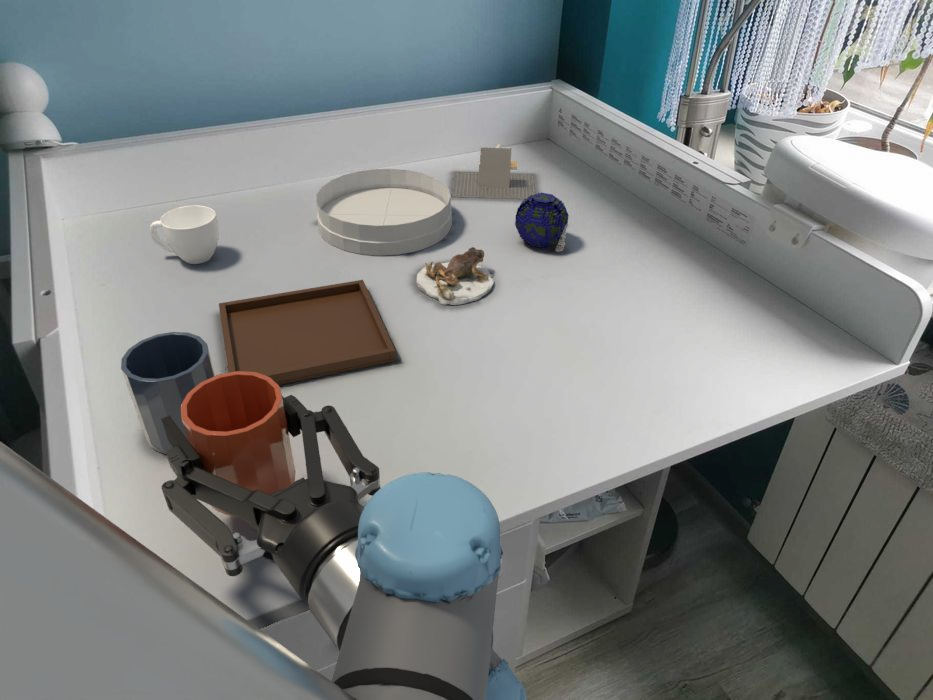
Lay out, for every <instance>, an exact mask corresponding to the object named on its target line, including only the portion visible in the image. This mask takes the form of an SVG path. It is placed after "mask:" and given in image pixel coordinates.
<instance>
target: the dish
mask: <svg viewBox="0 0 933 700" xmlns="http://www.w3.org/2000/svg"><path fill="white" fill-rule="evenodd" d="M315 201H316V209H317V210H316V211H317V213H316V222H317V228H318V229H317V230H318V232H319V234H320V235H321V237H322V239H323V240H325V241H326V242H327V243H328V244H330V245H331V246H333V247H335V248H338V249H340V250H343V251H346V252H348V253H353V254H354V253H355V254H358V255H366V256H379V257H380V256H398V255H399V256H400V255H404V254H409V253H415V252H419V251H421V250H424V249H427V248H430V247H432V246H433V245H436V244H437V243H439V242H441V241H442V240H443V239H444V238H445V237H446V236H447V235H448V234H449V233H450V231H451V228H452V225H453V211H452V207H451V204H452V203H451V202H452V194H451V192H450V189H449V187H448V186H447V185H446V184H445V183H444V182H443V181H441V180H439V179H438V178H436V177H434V176H431V175H428V174H425V173H423V172H420V171H419V172H418V171H413V170H407V169H398V168H397V169H396V168H378V169H377V168H375V169H374V168H373V169H367V170H361V171H360V170H359V171H355V172H350V173H348V174H343V175H340V176H338V177H336V178H333V179H332V180H329V181H328V182H327V183H325V184H324V185H322V186H321V187H320V189H319V190H318V192H316V200H315Z"/></svg>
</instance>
